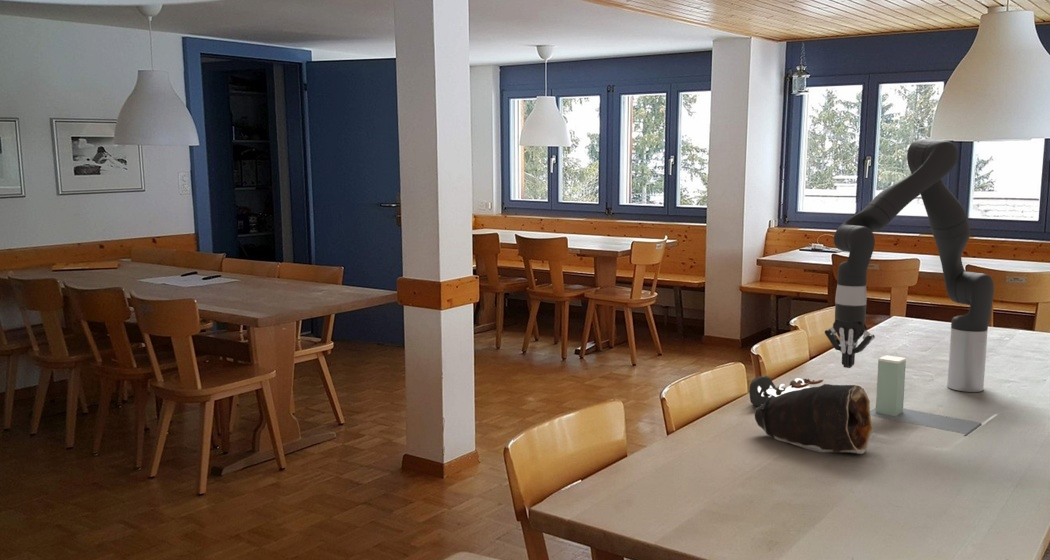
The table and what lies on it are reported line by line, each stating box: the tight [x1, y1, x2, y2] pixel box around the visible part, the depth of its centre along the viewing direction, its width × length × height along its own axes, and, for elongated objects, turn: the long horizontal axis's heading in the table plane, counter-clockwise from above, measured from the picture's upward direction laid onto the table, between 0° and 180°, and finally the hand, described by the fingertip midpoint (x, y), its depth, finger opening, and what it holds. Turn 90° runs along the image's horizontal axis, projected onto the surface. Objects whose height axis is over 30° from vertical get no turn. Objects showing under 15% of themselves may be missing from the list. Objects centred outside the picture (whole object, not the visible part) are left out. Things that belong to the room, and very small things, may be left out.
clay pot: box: [754, 383, 873, 455], centre depth 197 cm, size 15×15×25 cm
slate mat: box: [870, 407, 983, 437], centre depth 215 cm, size 12×24×1 cm, turn 47°
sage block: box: [875, 354, 907, 416], centre depth 219 cm, size 5×5×14 cm
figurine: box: [748, 375, 824, 408], centre depth 225 cm, size 14×10×18 cm
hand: (847, 367), depth 227 cm, fingers closed
